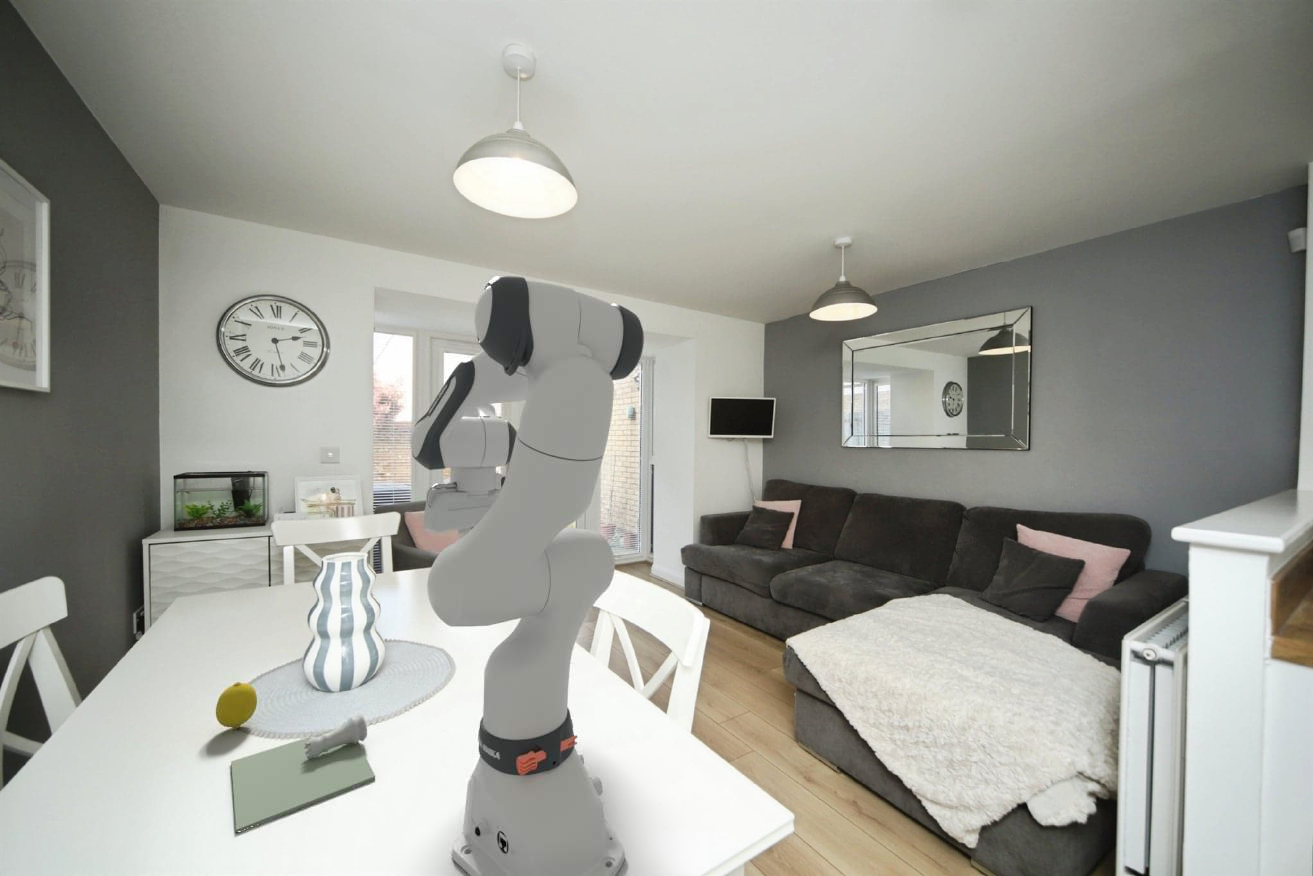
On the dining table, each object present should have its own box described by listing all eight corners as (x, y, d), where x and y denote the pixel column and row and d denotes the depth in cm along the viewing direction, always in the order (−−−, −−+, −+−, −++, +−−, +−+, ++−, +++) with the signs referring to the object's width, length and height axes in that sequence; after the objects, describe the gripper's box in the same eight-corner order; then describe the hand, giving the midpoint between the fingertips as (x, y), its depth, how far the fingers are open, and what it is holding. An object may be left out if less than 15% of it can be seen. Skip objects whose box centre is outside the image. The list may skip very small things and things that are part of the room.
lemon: (232, 739, 84) (234, 692, 84) (206, 735, 85) (207, 688, 85) (264, 721, 90) (265, 677, 90) (239, 717, 91) (240, 673, 91)
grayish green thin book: (375, 779, 75) (375, 776, 75) (236, 833, 64) (236, 829, 64) (349, 727, 88) (349, 724, 88) (231, 764, 78) (231, 761, 78)
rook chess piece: (369, 737, 82) (312, 764, 76) (362, 741, 85) (306, 767, 79) (363, 710, 83) (306, 733, 78) (356, 714, 86) (301, 738, 80)
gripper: (437, 485, 92) (435, 560, 92) (520, 479, 110) (519, 542, 110) (417, 483, 96) (415, 555, 96) (501, 478, 113) (499, 539, 113)
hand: (471, 548), depth 103 cm, fingers closed
